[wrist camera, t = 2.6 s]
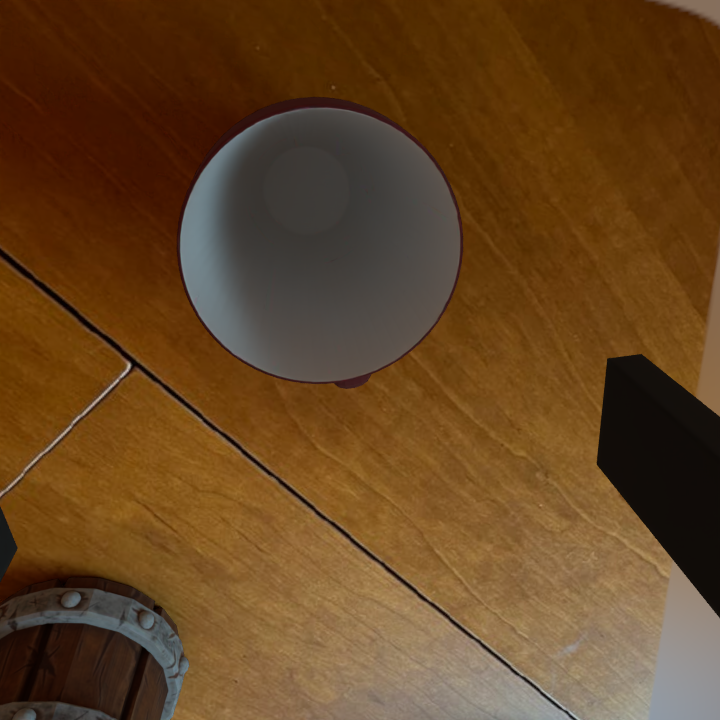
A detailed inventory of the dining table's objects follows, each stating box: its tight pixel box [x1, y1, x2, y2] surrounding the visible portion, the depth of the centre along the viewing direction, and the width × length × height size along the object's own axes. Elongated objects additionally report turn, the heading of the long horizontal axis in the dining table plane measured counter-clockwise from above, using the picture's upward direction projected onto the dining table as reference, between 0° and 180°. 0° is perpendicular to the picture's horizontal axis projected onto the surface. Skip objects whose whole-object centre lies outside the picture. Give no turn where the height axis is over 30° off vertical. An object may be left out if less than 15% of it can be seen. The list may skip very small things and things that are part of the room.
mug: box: [177, 97, 463, 389], centre depth 23 cm, size 11×8×10 cm
